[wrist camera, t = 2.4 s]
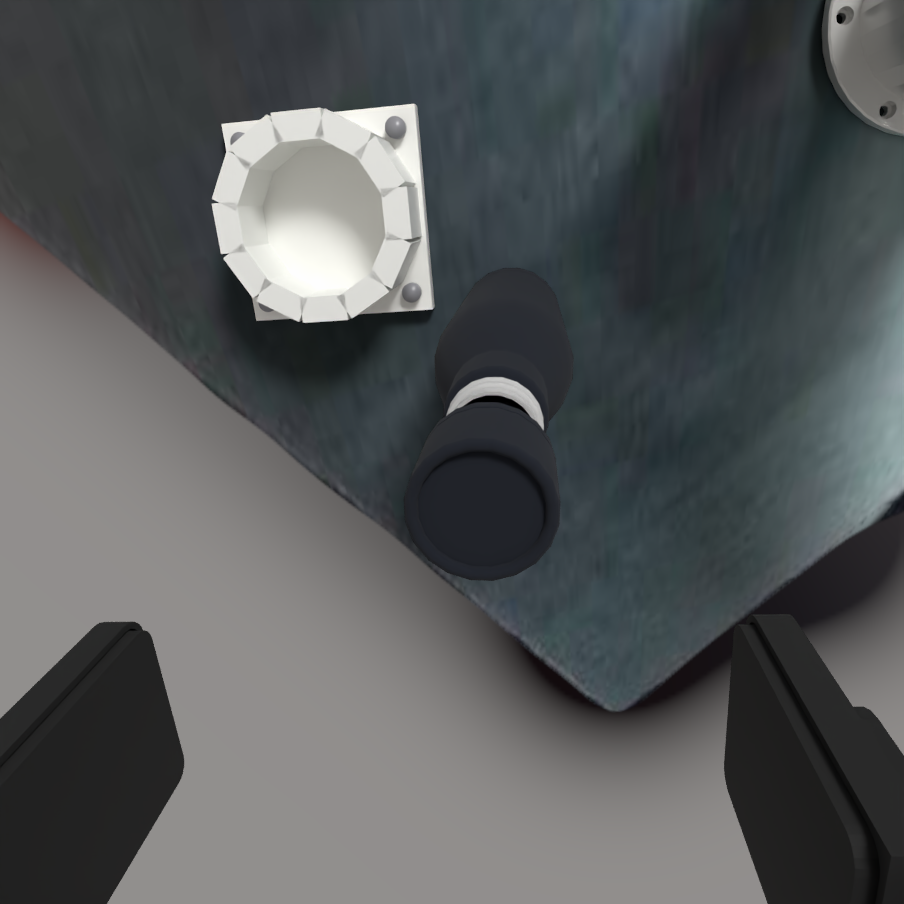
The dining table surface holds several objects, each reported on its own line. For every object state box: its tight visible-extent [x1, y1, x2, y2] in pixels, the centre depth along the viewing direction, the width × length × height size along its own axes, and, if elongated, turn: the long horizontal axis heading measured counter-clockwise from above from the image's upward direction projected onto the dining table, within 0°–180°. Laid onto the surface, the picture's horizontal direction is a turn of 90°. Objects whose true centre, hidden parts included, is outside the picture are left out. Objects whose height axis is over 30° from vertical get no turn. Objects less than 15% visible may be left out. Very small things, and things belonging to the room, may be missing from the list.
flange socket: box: [212, 104, 435, 323], centre depth 41 cm, size 12×12×5 cm
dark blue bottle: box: [404, 268, 573, 581], centre depth 30 cm, size 6×6×30 cm
